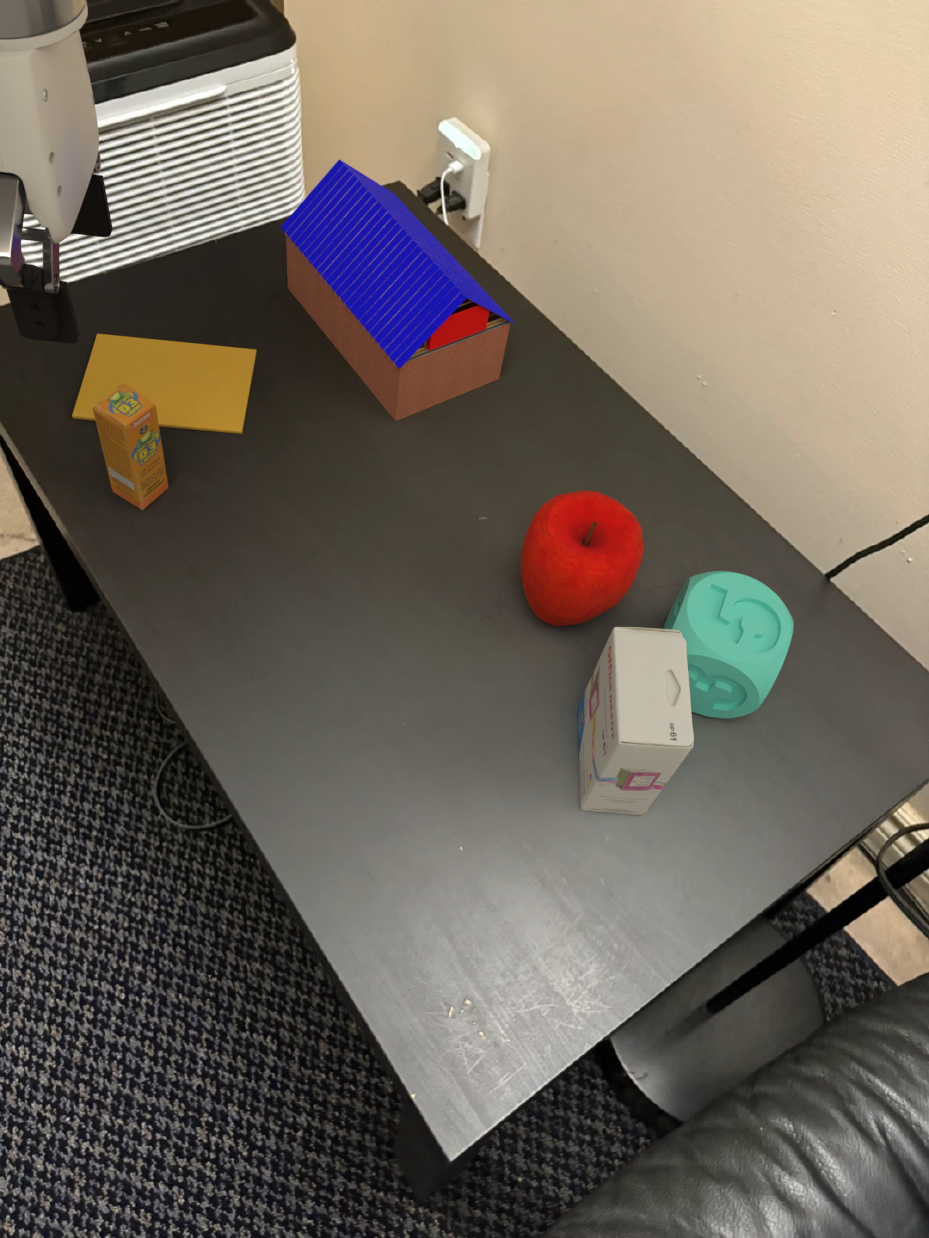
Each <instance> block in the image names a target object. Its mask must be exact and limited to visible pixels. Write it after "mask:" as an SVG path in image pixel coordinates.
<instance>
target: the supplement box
mask: <svg viewBox="0 0 929 1238" xmlns="http://www.w3.org/2000/svg"><path fill="white" fill-rule="evenodd" d="M92 409H93V413H94V417H95V420H94V421H95V424H96V429H97V432H98V437H99V441H100V445H101V449H102V454H103V457H104V461H105V466H106V470H107V474H108V479H109V483H110V487H111V491H112V492H113V493H114V494H116V496H117V495H118V496H119V497H120V498H122V499H123V500H125V501H127V502H128V503H129V504H131V505H132V506H134V507H136V508H137V509H139V510H141V511H144V510H145V509H146V508H148V506H150V505H151V504H153V502H154V501H155V500H157V499H158V498H159V497H160V496H161V495H162V494H163V493H165V492H166V491H167V490H168V489H169V482H168V475H167V469H166V463H165V456H164V455H165V454H164V448H163V443H162V437H161V429H160V426H159V423H158V416H157V410H156V405H155V403H154V402H152V401H151V400H150V399H148V398H147V397H145V396H144V395H142V394H141V393H139V392H137V391H136V390H134V389H133V388H131V387H130V386H128V385H126V384H125V383H122V384H121V385H120V386H119V387H118V389H117V390H116V391H115V392H113V393H112V394H110V395H109V396H108V397H106V398H105V399H104V400H102V401H99V402H98V403H96V404H95V405H94V406H93V408H92Z"/></svg>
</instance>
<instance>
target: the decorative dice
mask: <svg viewBox="0 0 929 1238" xmlns="http://www.w3.org/2000/svg"><path fill="white" fill-rule="evenodd" d="M794 627H795V626H794V620H793V616H792V614H791V612H790V611H789V609H788V608H787V605H786V604H785V603H784V601H783V600H782V598H780V596H779V595H778V594H777V593H776V592H775V591H774V590H773V589H771V588H770V587H769V586H767V585H766V584H765V583H763V582H761V580H758V579H756V578H754V577H751V576H749V575H747V574H744V573H740V572H734V571H728V570H713V571H712V570H711V571H706V572H702V573H697V574H694V575H692V576H689V577H687V579H686V580H685V582H684V583H683V585H682V587H681V589H680V590H679V592H678V594H677V596H676V598H675V600H674V602H673V605H672V606H671V609H670V611H669V614H668V615H667V617H666V620H665V622H664V625H663V627H662V629H670V630H679V631H680V632H681V633H682V636H683V638H684V639H685V640H686V643H687V663H688V674H689V688H690V700H691V713H695V714H698V715H701V716H704V717H708V718H715V719H736V718H740V717H745V716H747V715H750V714H752V713H755V712H756V711H757V710H758V709H759V708H760V706H761V705H762V704H763V703H764V701H765V700H766V699H767V696H768V695H769V693H770V691H771V690H772V688H773V686H774V684H775V682H776V680H777V678H778V676H779V674H780V672H781V669H782V668H783V665H784V662H785V660H786V657H787V655H788V651H789V649H790V646H791V642H792V639H793V635H794Z"/></svg>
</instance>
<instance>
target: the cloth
mask: <svg viewBox="0 0 929 1238" xmlns="http://www.w3.org/2000/svg"><path fill="white" fill-rule="evenodd" d="M257 352H258V351H257V349H255V348H244V347H236V346H235V347H234V346H223V345H215V344H203V343H195V342H186V341H185V342H184V341H175V340H166V339H154V338H147V337H145V338H144V337H137V336H136V337H134V336H124V335H114V334H104V333H96V336H95V340H94V343H93V346H92V349H91V352H90V356H89V360H88V363H87V366H86V369H85V372H84V376H83V378H82V382H81V385H80V389H79V391H78V395H77V398H76V401H75V405H74V408H73V411H72V414H71V417H72V419H75V420H85V421H95V417H94V413H93V409H92V408H93V406H94V405H95V404H96V403H98V402H99V401H102V400H104V399H105V398H106V397H108V396H109V395H110V394H112V393H113V392H115V391H116V390H117V389H118V387H119V386H120V385H121V384H122V383H125V384H126V385H128V386H130V387H131V388H133V389H134V390H136V391H137V392H139V393H141V394H142V395H144V396H145V397H147V398H148V399H150V400H151V401H152V402H154V403H155V405H156V410H157V416H158V423H159V428H160V427H162V428H170V429H171V428H173V429H183V430H194V431H195V430H196V431H204V432H216V433H227V434H238V435H242V434H243V432H244V425H245V420H246V414H247V408H248V403H249V398H250V392H251V386H252V381H253V376H254V369H255V364H256V359H257Z"/></svg>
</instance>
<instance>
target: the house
mask: <svg viewBox="0 0 929 1238" xmlns="http://www.w3.org/2000/svg"><path fill="white" fill-rule="evenodd" d="M280 228H281V229H282V231H283V232H284V236H285V248H286V277H287V289H288V290H289V292H290V293H291V294H292V295H293V297H294V298H295V299H296V300H297V302H298V303H299V304H300V305H301V306H302V308H303V309H304V311H306V313H307V314H308V315H309V316H310V318H311V319H312V320H313V321H314V323H315V324H316V325H317V326H318V328H319V329H320V330H321V332H322V333H323V334H324V335H325V336H326V337H327V339H328V340H329V341H330V343H332V346H334V348H335V349H336V350H337V351H338V352H339V354H340V355H341V356H342V357H343V359H344V360H345V361H346V363H348V364H349V366H350V368H352V369H353V371H354V372H355V373H356V375H357V376H358V377H359V379H361V381H362V382H363V384H365V385H366V387H367V388H368V390H370V392H371V393H372V394H373V396H374V397H375V398H376V399H377V400H378V402H380V404H381V406H382V407H383V408H384V409H385V411H386V412H387V413H388V414H389V415H390V416H391V418H392V419H393V420H394V421H395V422H397V421H400V420H403V419H405V418H407V417H410V416H412V415H415V414H417V413H420V412H423V411H424V410H427V409H429V408H431V407H434V406H438V405H439V404H442V403H444V402H447V401H449V400H451V399H454V398H456V397H459V396H461V395H463V394H466V393H469V392H470V391H473V390H477V389H478V388H481V387H483V386H485V385H488V384H490V383H493V382H496V381H498V380H500V376H501V372H502V366H503V362H504V356H505V352H506V347H507V342H508V337H509V334H510V333H509V332H510V328H511V323H512V324H515V321H514V320H513V319H512V318H511V317H510V316H509V315H508V314H507V313H506V312H505V311H504V310H503V309H502V308H501V306H499V304H498V303H497V302H496V301H495V300H494V299H493V298H492V296H490V295H489V294H488V292H487V291H486V290H485V289H484V288H483V287H482V286H481V285H480V284H479V283H478V282H477V281H476V279H474V278H473V276H472V275H471V274H470V273H469V272H468V271H467V270H466V269H465V268H464V267H463V266H462V264H460V262H459V261H458V260H456V258H455V257H454V256H453V255H452V254H451V253H450V252H449V251H448V250H447V249H446V247H444V246H443V244H442V243H441V242H440V241H439V240H438V239H437V238H436V237H435V236H434V234H432V232H431V231H430V230H429V229H428V228H427V227H426V226H425V225H424V224H423V223H422V222H421V221H420V220H419V219H418V218H417V216H416V215H415V214H414V213H413V212H412V211H411V210H410V209H409V208H408V207H407V206H406V205H405V204H404V202H402V201H401V199H400V198H399V197H398V196H397V195H396V193H394V192H393V191H391V190H389V189H388V188H386V187H385V186H383V185H382V184H380V183H378V182H376V181H375V180H374V179H371V178H370V177H369V176H367V175H365V174H364V173H362V172H360V171H359V170H358V169H356V168H354V167H352V166H351V165H350V164H348V163H346V162H344V161H343V160H341V159H338V160H337V161H336V162H335V163H334V165H333V166H332V167H331V168H330V169H329V170H328V171H327V173H326V174H325V175H324V176H323V177H322V179H320V180H319V181H318V183H317V184H316V185H315V186H314V188H313V189H312V190H311V191H310V192H309V193H308V195H307V196H306V197H305V198H304V199H303V200H302V201H301V202H300V204H299V205H298V206H297V208H296V209H294V211H293V212H292V213H291V215H289V216H288V218H287V219H286V220H285V221H284V222H283V224H282V225H280Z"/></svg>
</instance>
